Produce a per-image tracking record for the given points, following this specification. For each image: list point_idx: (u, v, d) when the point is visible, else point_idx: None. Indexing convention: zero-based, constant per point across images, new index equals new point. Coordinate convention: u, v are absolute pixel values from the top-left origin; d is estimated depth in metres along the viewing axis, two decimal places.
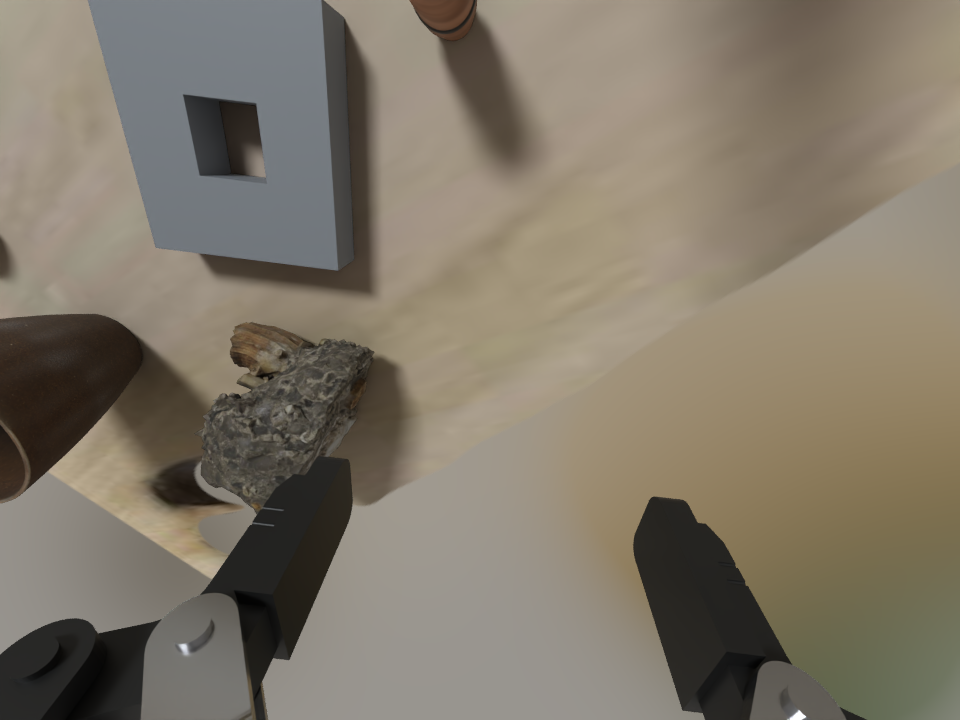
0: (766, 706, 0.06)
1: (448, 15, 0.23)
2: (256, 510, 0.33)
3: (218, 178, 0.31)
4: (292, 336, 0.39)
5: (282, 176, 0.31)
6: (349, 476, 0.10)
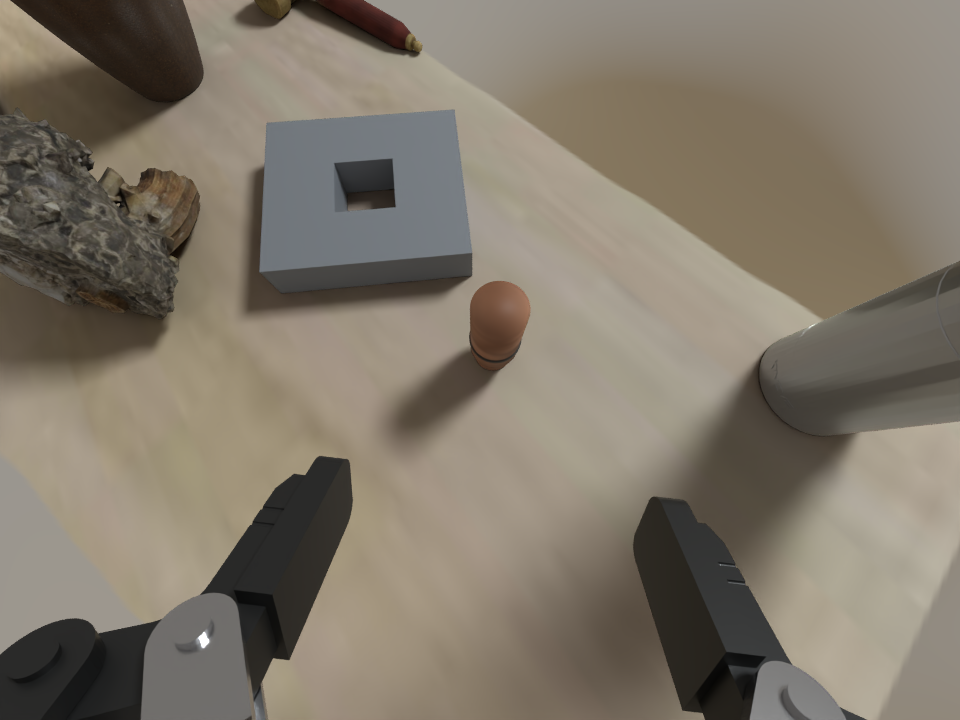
0: (766, 706, 0.06)
1: (474, 337, 0.28)
2: None
3: (333, 176, 0.36)
4: (184, 233, 0.36)
5: (342, 224, 0.34)
6: (349, 476, 0.10)
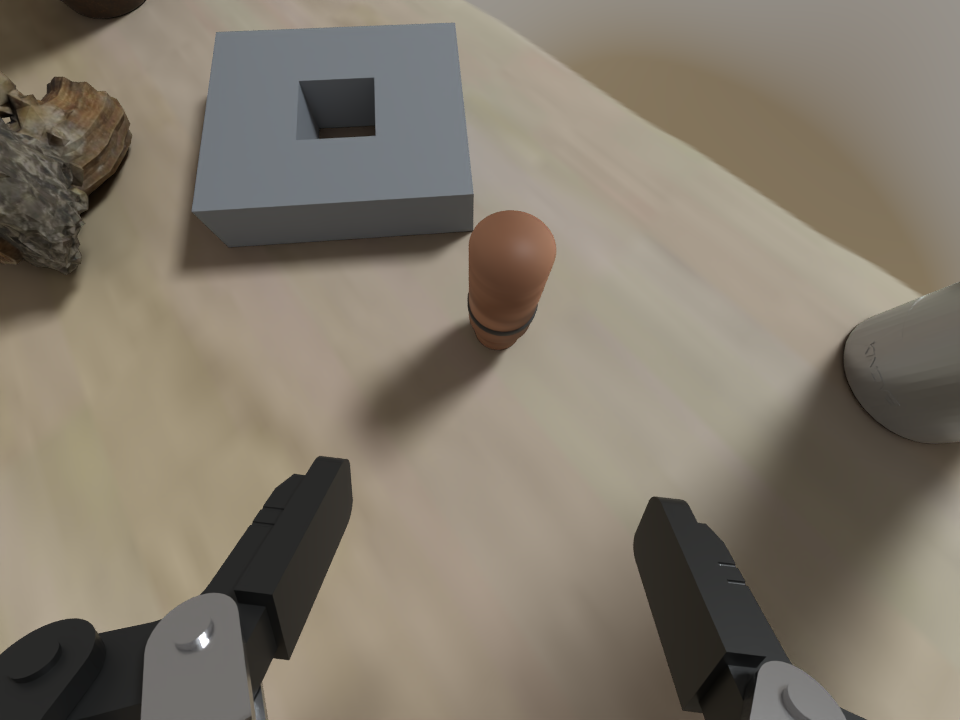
0: (766, 706, 0.06)
1: (473, 295, 0.20)
2: None
3: (297, 97, 0.28)
4: (105, 167, 0.28)
5: (305, 154, 0.26)
6: (349, 476, 0.10)
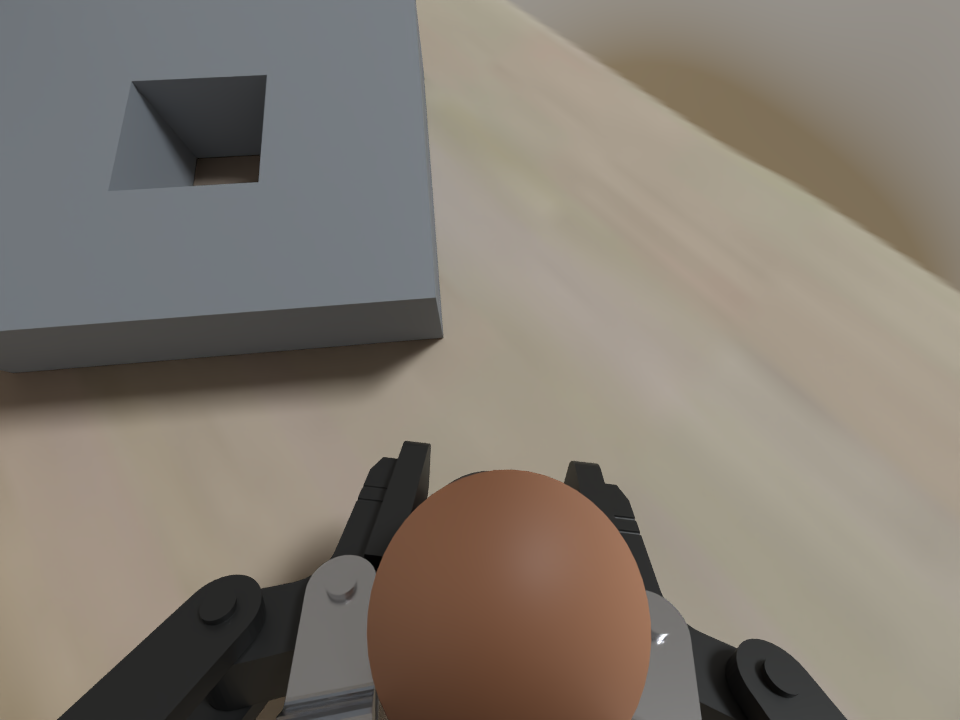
0: None
1: None
2: None
3: (126, 110, 0.16)
4: None
5: (122, 219, 0.14)
6: (429, 460, 0.11)
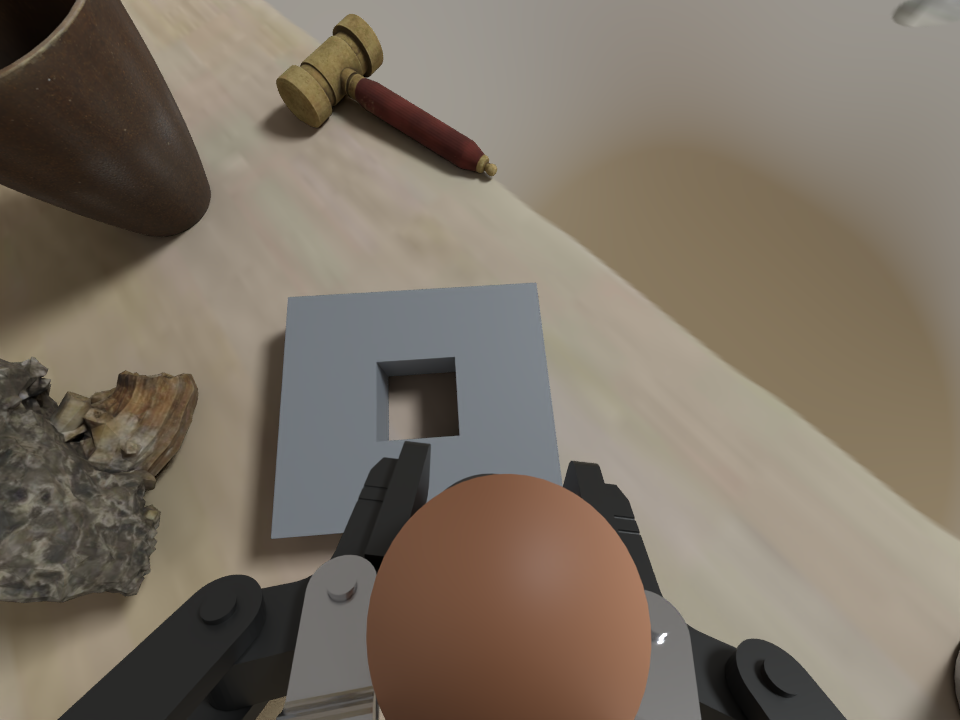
0: None
1: None
2: None
3: (375, 382, 0.27)
4: (173, 448, 0.27)
5: None
6: None
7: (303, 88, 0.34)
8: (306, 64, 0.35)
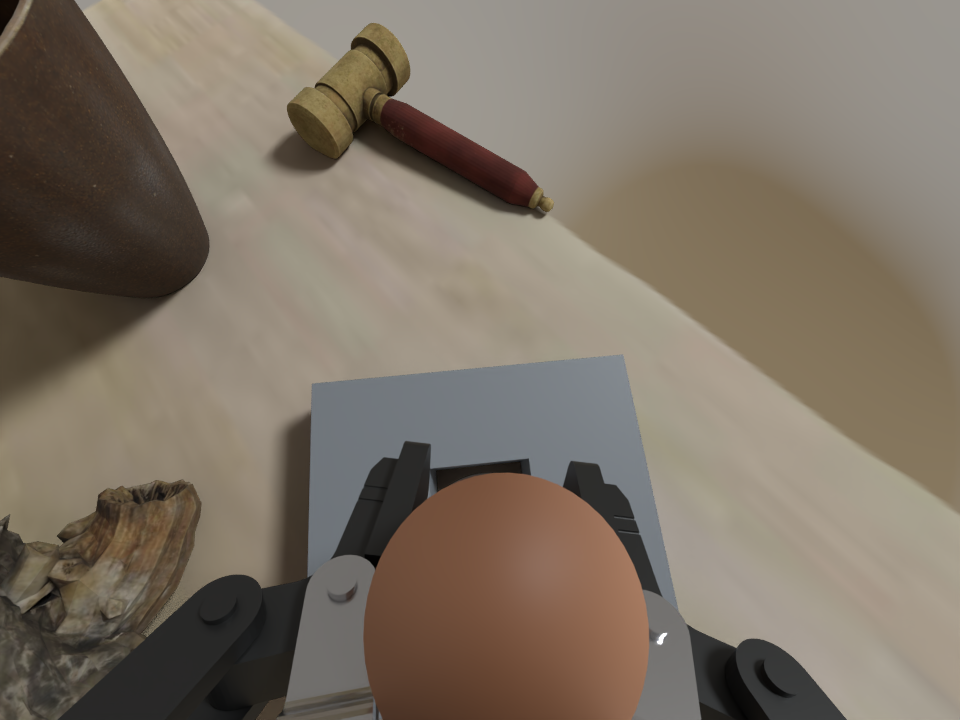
0: None
1: None
2: None
3: (429, 496, 0.21)
4: (171, 586, 0.21)
5: None
6: None
7: (320, 115, 0.28)
8: (322, 85, 0.29)
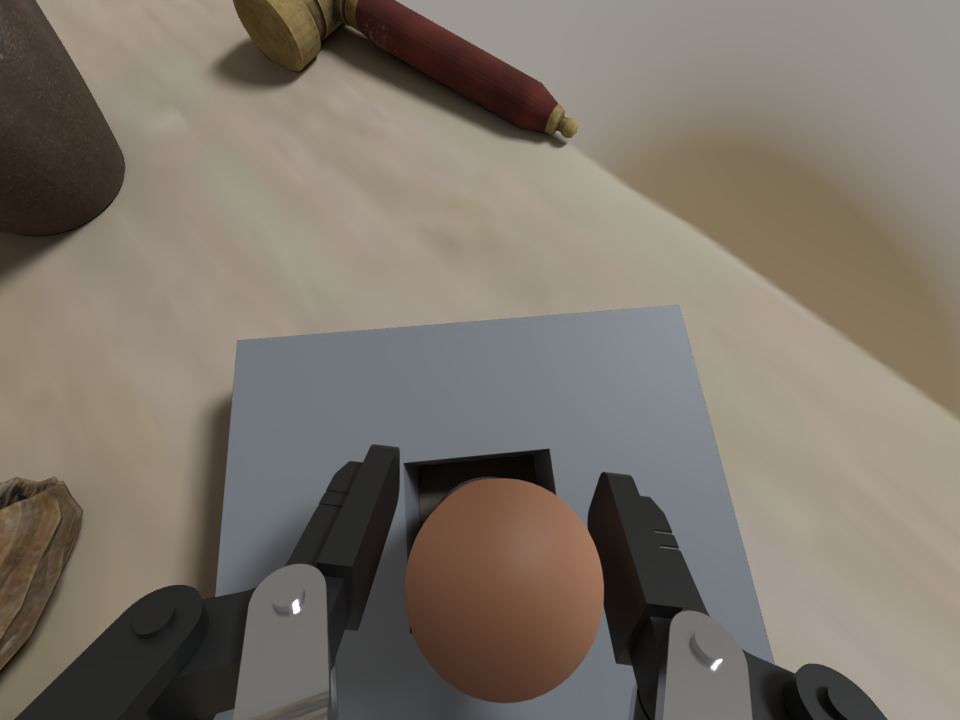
0: (679, 656, 0.06)
1: None
2: None
3: (403, 504, 0.14)
4: (18, 636, 0.14)
5: (434, 678, 0.12)
6: (399, 464, 0.11)
7: (273, 0, 0.21)
8: None
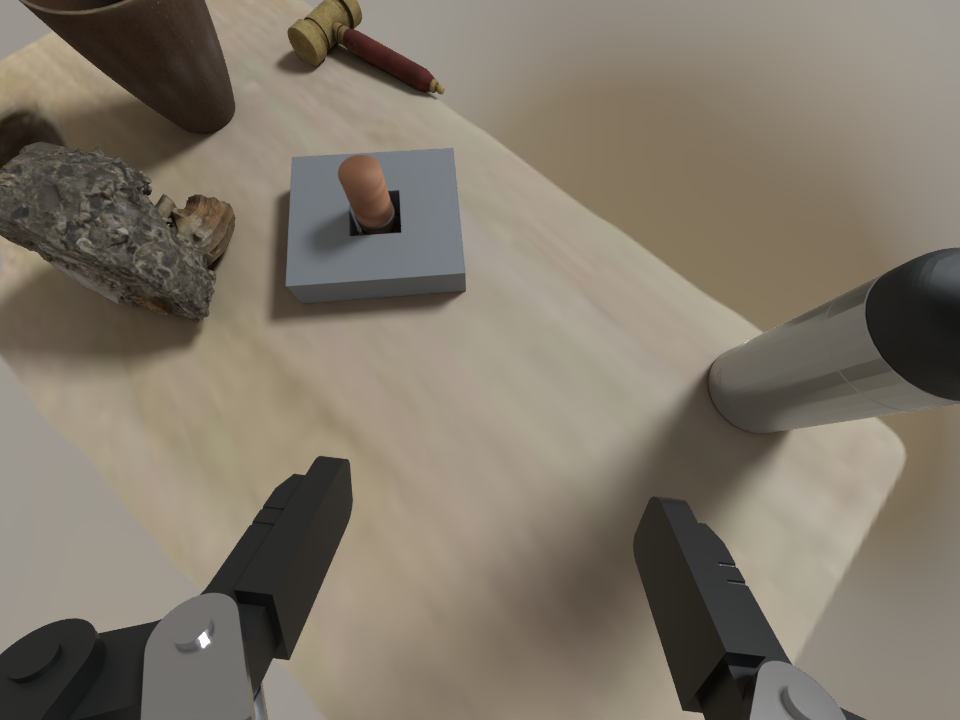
0: (766, 706, 0.06)
1: (349, 202, 0.39)
2: None
3: (349, 205, 0.42)
4: (221, 249, 0.42)
5: (356, 246, 0.41)
6: (349, 476, 0.10)
7: (307, 34, 0.50)
8: (308, 19, 0.51)
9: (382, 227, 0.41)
